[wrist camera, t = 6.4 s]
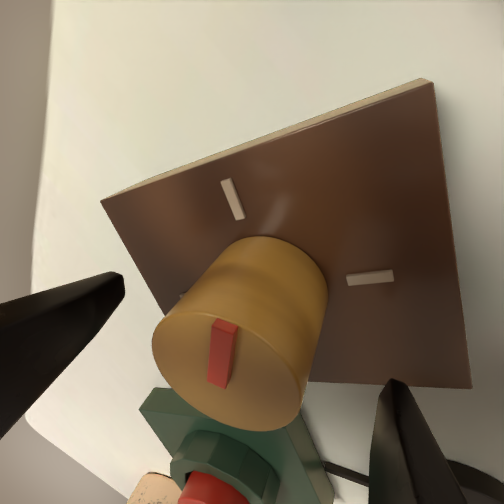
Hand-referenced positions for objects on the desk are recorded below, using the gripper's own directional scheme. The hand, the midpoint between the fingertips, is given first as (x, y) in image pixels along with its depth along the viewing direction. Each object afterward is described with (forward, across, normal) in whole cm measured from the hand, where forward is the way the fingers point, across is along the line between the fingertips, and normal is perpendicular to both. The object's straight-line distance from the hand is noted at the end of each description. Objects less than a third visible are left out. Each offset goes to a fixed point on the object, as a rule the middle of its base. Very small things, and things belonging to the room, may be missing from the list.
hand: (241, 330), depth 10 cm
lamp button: (+2, 0, +17) cm, 18 cm away
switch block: (+5, 0, +18) cm, 18 cm away
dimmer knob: (+2, 0, 0) cm, 2 cm away
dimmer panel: (+5, 0, 0) cm, 5 cm away
